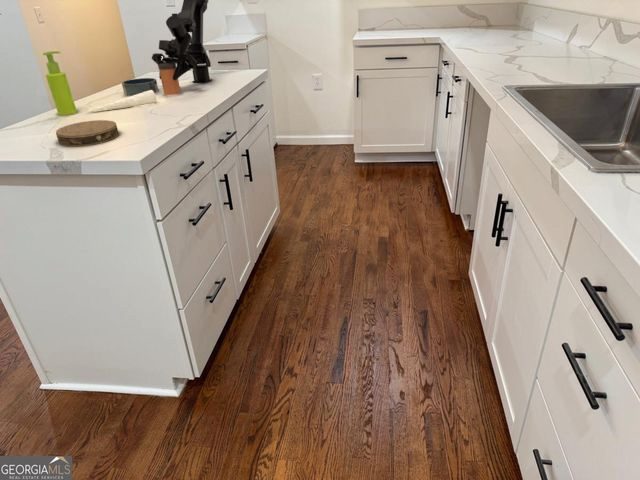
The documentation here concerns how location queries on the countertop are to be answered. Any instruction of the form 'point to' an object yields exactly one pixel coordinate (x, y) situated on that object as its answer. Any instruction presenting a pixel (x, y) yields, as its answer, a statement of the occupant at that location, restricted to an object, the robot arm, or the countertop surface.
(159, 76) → the robot arm
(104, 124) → the round wood slice
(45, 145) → the countertop surface
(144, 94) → the unicorn horn
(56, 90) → the soap dispenser
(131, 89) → the bowl
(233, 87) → the countertop surface
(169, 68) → the spice tin
